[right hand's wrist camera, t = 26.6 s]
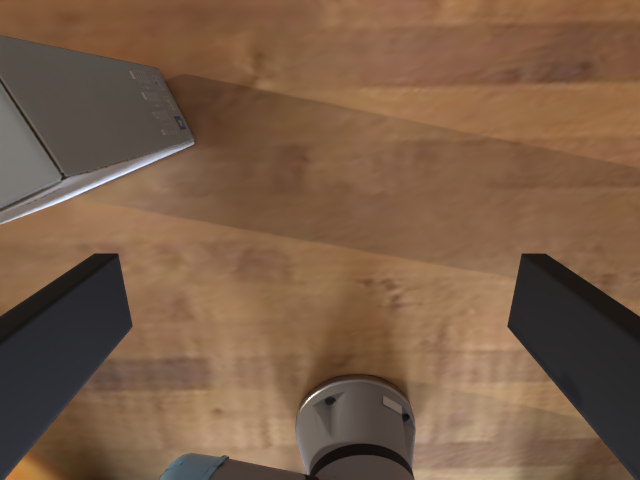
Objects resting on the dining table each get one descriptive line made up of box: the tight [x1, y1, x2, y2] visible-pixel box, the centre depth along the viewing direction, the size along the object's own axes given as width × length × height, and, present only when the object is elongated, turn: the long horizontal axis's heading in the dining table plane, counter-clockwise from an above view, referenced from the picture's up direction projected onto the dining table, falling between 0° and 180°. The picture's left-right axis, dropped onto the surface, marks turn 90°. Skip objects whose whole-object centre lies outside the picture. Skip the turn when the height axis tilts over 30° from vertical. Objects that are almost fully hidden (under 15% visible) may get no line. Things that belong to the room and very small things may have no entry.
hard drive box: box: [0, 35, 195, 224], centre depth 28 cm, size 16×8×20 cm, turn 113°
